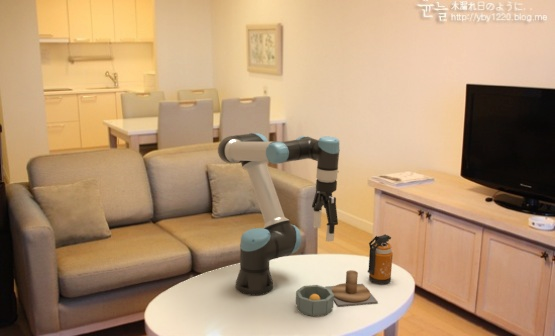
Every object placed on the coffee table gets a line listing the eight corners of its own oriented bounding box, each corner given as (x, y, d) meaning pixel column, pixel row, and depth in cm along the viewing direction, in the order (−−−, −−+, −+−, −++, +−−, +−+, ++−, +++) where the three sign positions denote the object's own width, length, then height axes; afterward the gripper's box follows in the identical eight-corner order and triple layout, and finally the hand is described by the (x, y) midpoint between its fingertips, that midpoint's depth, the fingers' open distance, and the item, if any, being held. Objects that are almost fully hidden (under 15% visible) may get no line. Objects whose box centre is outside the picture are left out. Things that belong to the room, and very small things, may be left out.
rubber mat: (325, 288, 227) (325, 286, 227) (362, 285, 231) (362, 283, 231) (337, 306, 212) (338, 305, 212) (377, 303, 216) (377, 301, 216)
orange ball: (307, 303, 213) (307, 292, 212) (318, 302, 214) (318, 291, 212) (310, 308, 208) (310, 297, 207) (321, 307, 209) (322, 296, 208)
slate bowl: (293, 301, 216) (293, 286, 215) (325, 298, 219) (326, 284, 217) (302, 317, 204) (302, 302, 202) (336, 314, 206) (337, 299, 205)
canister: (395, 281, 235) (398, 236, 230) (375, 288, 229) (379, 241, 224) (379, 274, 242) (383, 230, 237) (360, 279, 236) (363, 235, 231)
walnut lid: (326, 287, 227) (327, 266, 225) (361, 284, 230) (363, 263, 228) (338, 304, 213) (340, 282, 211) (376, 301, 216) (377, 279, 214)
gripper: (350, 189, 194) (345, 246, 199) (324, 170, 217) (320, 221, 222) (329, 190, 192) (325, 247, 197) (305, 170, 215) (302, 223, 220)
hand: (323, 234), depth 210 cm, fingers open, 13 cm apart
